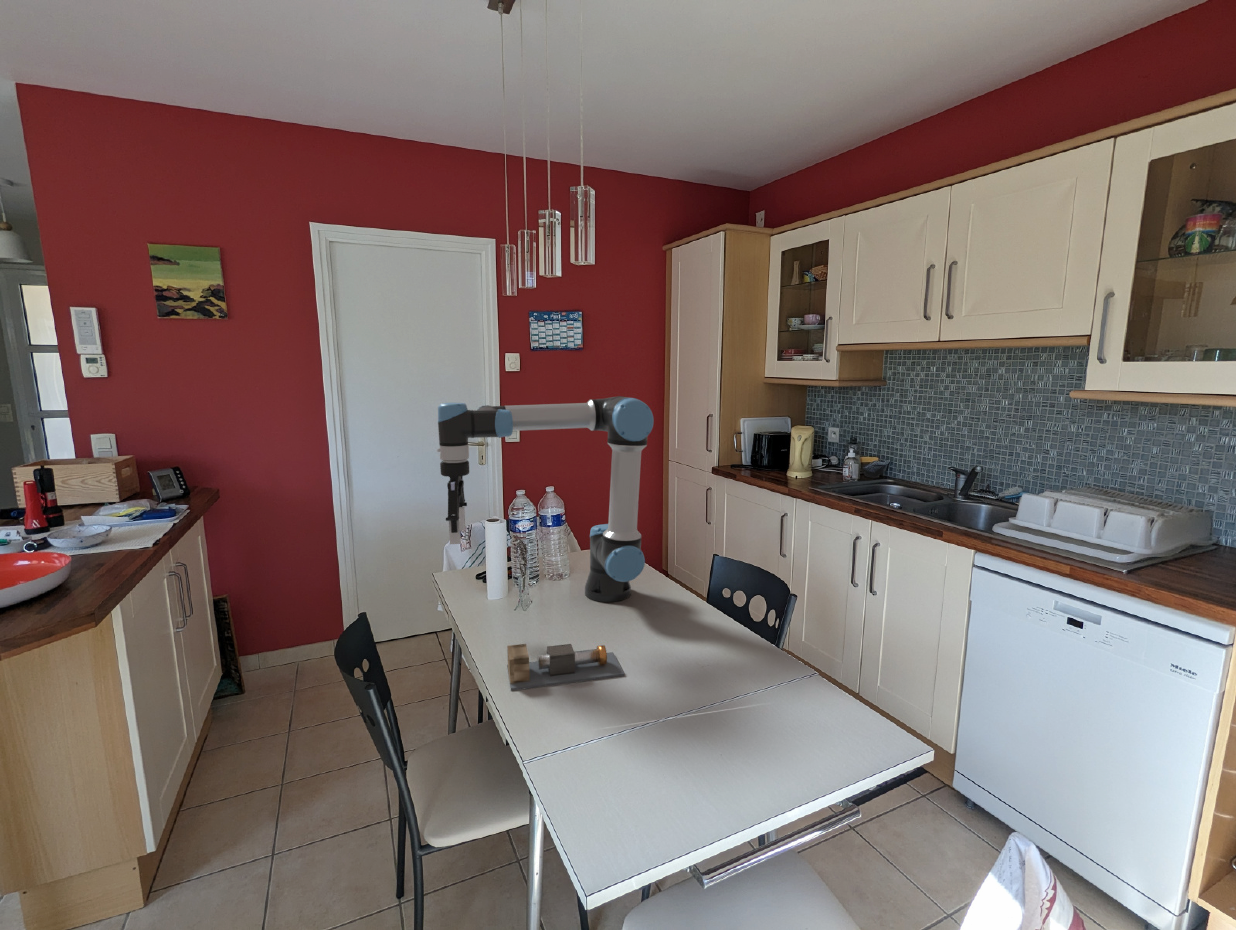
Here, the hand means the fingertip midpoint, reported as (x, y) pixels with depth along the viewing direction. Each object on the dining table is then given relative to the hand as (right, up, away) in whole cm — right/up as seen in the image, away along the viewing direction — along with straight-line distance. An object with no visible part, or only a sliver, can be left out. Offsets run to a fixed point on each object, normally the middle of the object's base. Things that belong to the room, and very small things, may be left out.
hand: (458, 536), depth 162 cm
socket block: (+20, -31, -21) cm, 43 cm away
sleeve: (+30, -31, -19) cm, 47 cm away
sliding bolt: (+33, -30, -18) cm, 48 cm away
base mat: (+31, -31, -19) cm, 48 cm away
